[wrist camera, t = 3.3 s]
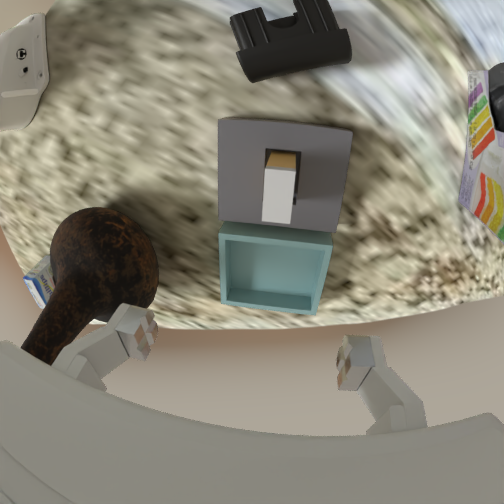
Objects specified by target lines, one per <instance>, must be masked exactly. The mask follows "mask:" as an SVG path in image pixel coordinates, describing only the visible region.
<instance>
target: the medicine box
mask: <svg viewBox="0 0 504 504" xmlns="http://www.w3.org/2000/svg"><path fill="white" fill-rule="evenodd" d="M52 276H53V272H52V269H51V264H50V255H46V256H45V257H44V258H43V259H42V260H41V261H40V262H39V263H37V264H36V265H35V266H34V267H33V268H32V269H31V270H30V271H29V272H28V273H27V274H26V275H25V276H24V277H23V279H24V281H25V283H26V285H27V287H28V289H29V290H30V292H31V294H32V296H33V297H34V299H35V301H36V302H37V304H38V306H39V307H40V308H42V309H44V307H45V306H46V304H47V302H48V300H49V298H50V296H51V294H52V292H53V290H54V288H55V285H54V282H53V279H52Z"/></svg>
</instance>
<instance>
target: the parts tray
mask: <svg viewBox="0 0 504 504" xmlns="http://www.w3.org/2000/svg"><path fill="white" fill-rule="evenodd" d="M218 237H219V266H220V290H221V304H226V305H233V306H241V307H248V308H256V309H263V310H272V311H280V312H289V313H298V314H308V315H316V312H317V308H318V305H319V301H320V297H321V294H322V290H323V286H324V282H325V278H326V274H327V270H328V266H329V262H330V257H331V253H332V249H333V243H332V238H331V233H330V232H323V231H315V230H306V229H298V228H289V227H280V226H271V225H262V224H252V223H242V222H232V221H224V223H223V225H222V227H221V229H220V231H219V233H218Z"/></svg>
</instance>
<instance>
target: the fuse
mask: <svg viewBox="0 0 504 504" xmlns="http://www.w3.org/2000/svg"><path fill="white" fill-rule="evenodd" d="M295 174H296V153H295V152H286V151H275V150H272V152H271V155H270V157H269V160H268V162H267V165H266V167H265V176H264V193H263V209H262V221H266V222H275V223H284V224H290V220H291V211H292V202H293V193H294V184H295Z"/></svg>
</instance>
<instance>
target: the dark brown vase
mask: <svg viewBox="0 0 504 504" xmlns="http://www.w3.org/2000/svg"><path fill="white" fill-rule="evenodd" d="M50 264H51V269H52V272H53V276H52V279H53V282H54V285H55V288H54V290H53V292H52V294H51V296H50V298H49V300H48V302H47V304H46V306H45V307H44V309H43V311H42V313H41V314H40V316H39V318H38V320H37V321H36V323H35V325H34V326H33V329H32V331H31V332H30V334H29V335H28V337H27V339H26V340H25V341H24V343H23V345H22V346H21V349H23V350H24V351H26V352H27V353H29V354H31V355H32V356H34V357H36V358H37V359H39V360H41V361H43V362H44V363H46V364H48V365H50V366H52V364H53V363H54V361H55V360H56V358H57V357H58V355H59V354H60V352H61V351H62V349H63V348H64V347H65V346H67V345H69V344H71V343H72V341H73V340H74V339H75V337H76V336H77V335H78V334H79V333H80V332H81V331H82V329H83V328H84V327H85V326H86V325H87V324H88V323H89V322H91V321H92V320H93V319H96V320H99V321H103V322H107V323H108V321H109V320H110V319H111V317H112V316H113V314H114V313H115V311H116V310H117V308H118V307H119V306H120V305H121V304H122V303H124V304H129V305H133V306H137V307H141V308H145V309H147V308H148V307H149V305H150V304H151V303H152V302H153V300H154V297H155V294H156V291H157V287H158V279H159V270H158V263H157V258H156V254H155V251H154V249H153V246H152V244H151V242H150V240H149V239H148V237H147V235H146V234H145V233H144V232H143V230H142V229H141V228H140V227H139V226H138V225H137V224H136V222H134V221H133V220H131V219H130V218H128V217H127V216H125V215H124V214H122V213H120V212H118V211H115V210H112V209H108V208H102V207H92V208H86V209H82V210H79V211H77V212H75V213H73V214H71V215H70V216H68V217H67V218H66V219H65V220H64V221H63V222H62V223H61V224H60V225H59V227H58V228H57V230H56V232H55V234H54V236H53V239H52V243H51V248H50Z"/></svg>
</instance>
